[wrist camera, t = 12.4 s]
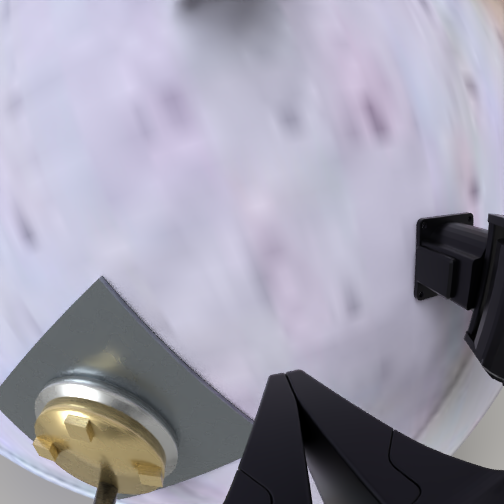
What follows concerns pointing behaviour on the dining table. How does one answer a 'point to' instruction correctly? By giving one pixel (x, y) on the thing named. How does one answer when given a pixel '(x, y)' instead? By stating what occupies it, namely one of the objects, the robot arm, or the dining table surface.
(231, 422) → the gray metal base plate
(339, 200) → the dining table surface
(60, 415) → the brass chuck with rod
